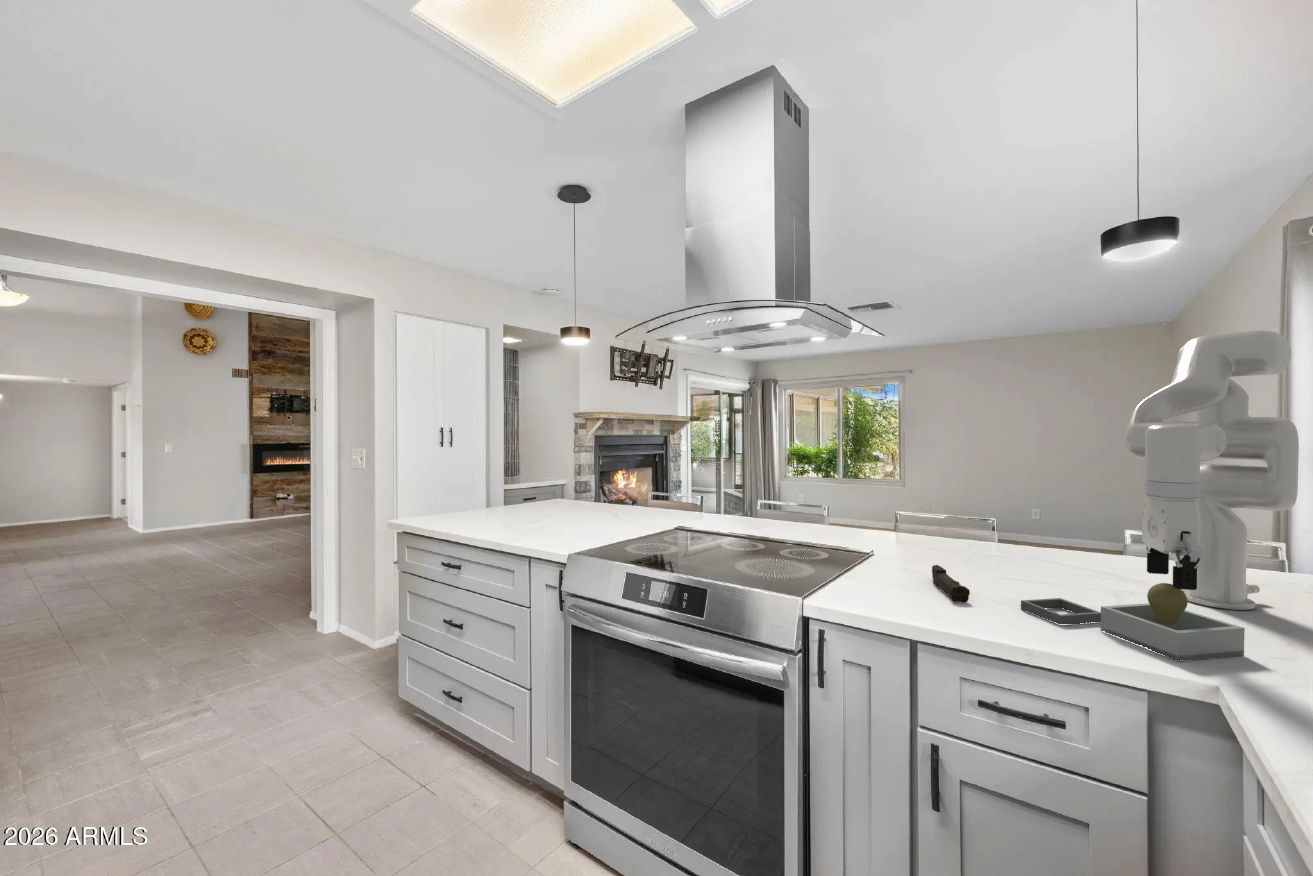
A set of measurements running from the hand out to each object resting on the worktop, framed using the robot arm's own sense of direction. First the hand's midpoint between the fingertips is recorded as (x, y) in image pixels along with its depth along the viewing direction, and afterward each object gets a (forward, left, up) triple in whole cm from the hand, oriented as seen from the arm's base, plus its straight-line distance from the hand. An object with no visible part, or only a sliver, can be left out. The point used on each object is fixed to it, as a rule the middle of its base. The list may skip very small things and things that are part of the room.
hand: (1170, 580), depth 103 cm
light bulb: (0, 0, -11) cm, 11 cm away
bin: (+1, 0, -12) cm, 12 cm away
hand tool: (+20, -36, -12) cm, 43 cm away
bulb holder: (+8, -16, -12) cm, 21 cm away
